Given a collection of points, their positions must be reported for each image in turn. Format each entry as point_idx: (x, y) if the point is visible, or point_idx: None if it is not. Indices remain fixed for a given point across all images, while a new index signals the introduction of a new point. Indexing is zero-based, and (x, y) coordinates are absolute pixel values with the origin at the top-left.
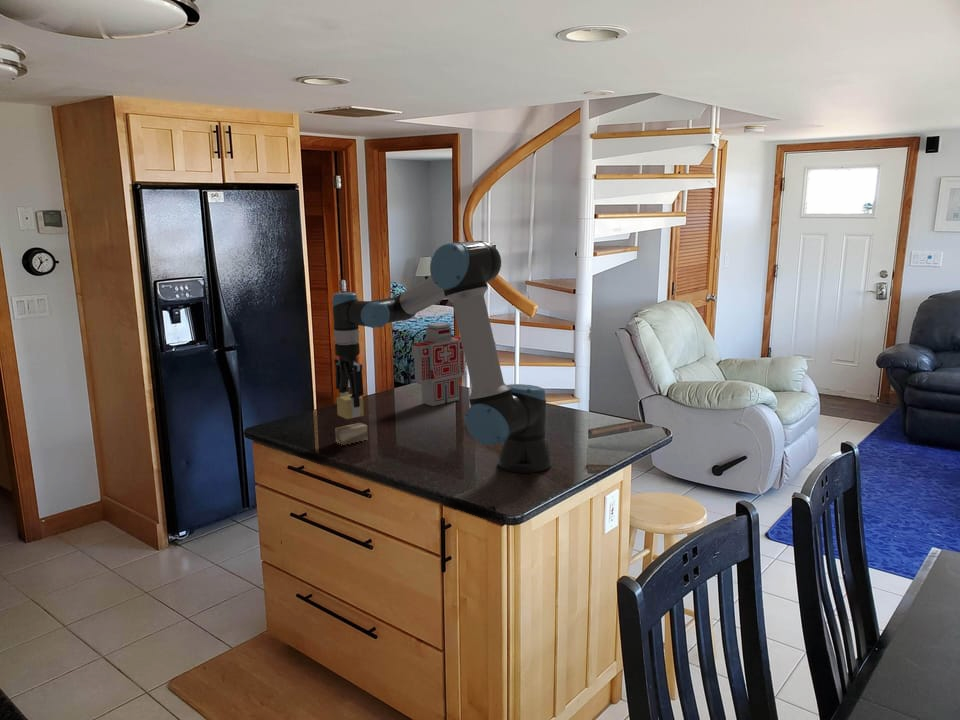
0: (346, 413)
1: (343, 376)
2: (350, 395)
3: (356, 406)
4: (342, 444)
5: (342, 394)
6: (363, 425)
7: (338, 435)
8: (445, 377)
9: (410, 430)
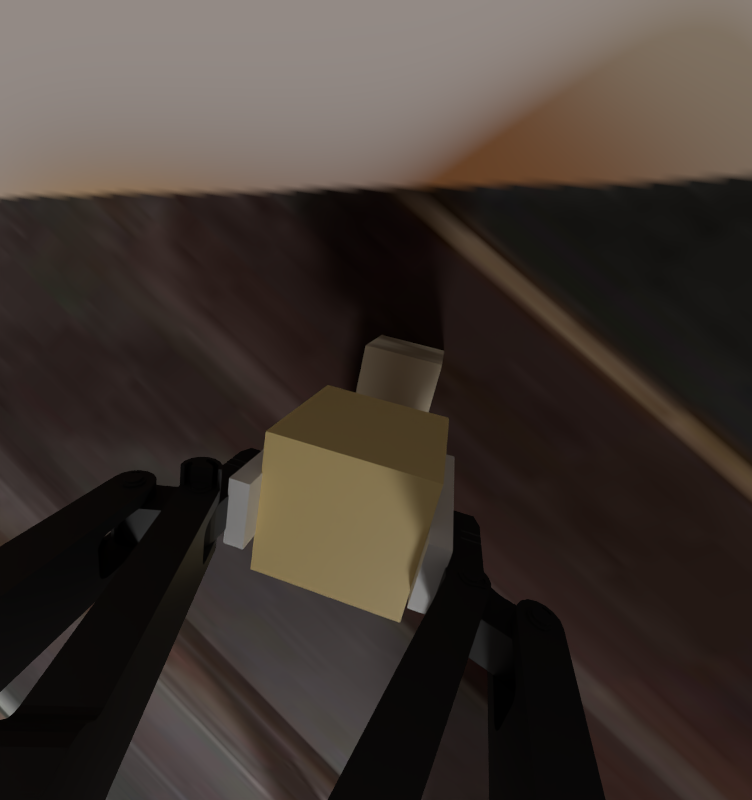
0: (315, 396)
1: (341, 776)
2: (373, 571)
3: (242, 455)
4: (381, 335)
5: (425, 545)
6: None
7: (410, 349)
8: None
9: (318, 598)
